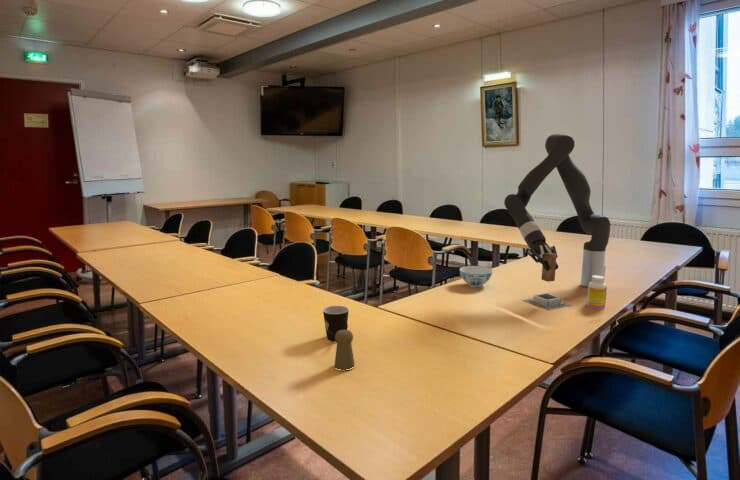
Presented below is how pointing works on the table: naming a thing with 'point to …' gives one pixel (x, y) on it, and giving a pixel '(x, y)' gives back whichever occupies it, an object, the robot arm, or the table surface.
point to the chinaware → (475, 275)
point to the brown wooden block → (551, 261)
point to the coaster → (549, 307)
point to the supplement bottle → (597, 292)
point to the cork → (344, 350)
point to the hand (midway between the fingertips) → (552, 269)
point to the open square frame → (547, 300)
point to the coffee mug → (335, 320)
